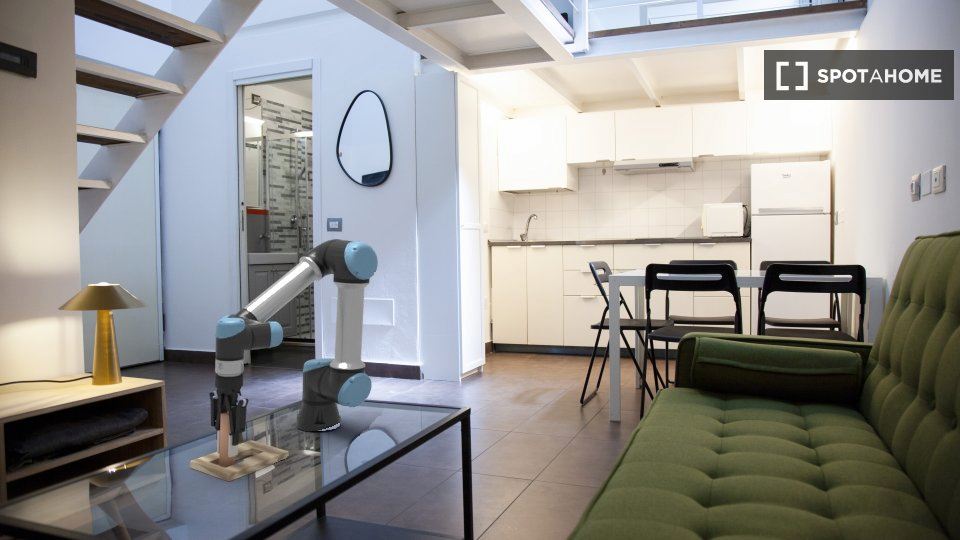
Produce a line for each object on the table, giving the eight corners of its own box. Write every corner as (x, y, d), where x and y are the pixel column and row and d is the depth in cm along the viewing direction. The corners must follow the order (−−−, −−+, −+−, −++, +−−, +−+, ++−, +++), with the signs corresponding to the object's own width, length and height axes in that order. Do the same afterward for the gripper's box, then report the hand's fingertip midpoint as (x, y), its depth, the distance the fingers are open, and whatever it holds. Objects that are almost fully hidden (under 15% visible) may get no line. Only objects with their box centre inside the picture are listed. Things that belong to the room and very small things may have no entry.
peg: (227, 461, 197) (229, 410, 196) (237, 464, 195) (238, 413, 194) (216, 465, 194) (217, 413, 192) (225, 468, 192) (227, 416, 190)
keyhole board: (250, 446, 212) (251, 440, 212) (288, 458, 204) (288, 451, 204) (190, 467, 193) (190, 460, 193) (228, 481, 185) (229, 474, 185)
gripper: (197, 370, 193) (196, 450, 195) (239, 381, 185) (237, 464, 187) (219, 366, 199) (217, 443, 202) (261, 376, 191) (258, 456, 193)
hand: (227, 453), depth 194 cm, fingers closed on peg, 4 cm apart
